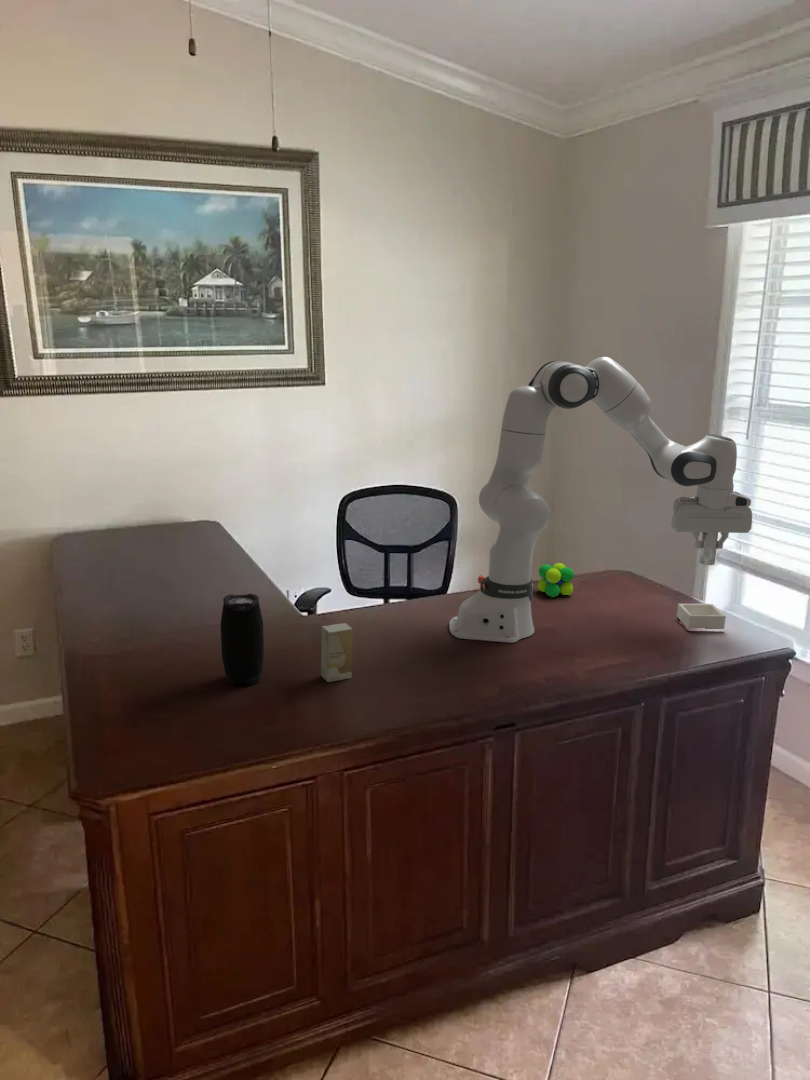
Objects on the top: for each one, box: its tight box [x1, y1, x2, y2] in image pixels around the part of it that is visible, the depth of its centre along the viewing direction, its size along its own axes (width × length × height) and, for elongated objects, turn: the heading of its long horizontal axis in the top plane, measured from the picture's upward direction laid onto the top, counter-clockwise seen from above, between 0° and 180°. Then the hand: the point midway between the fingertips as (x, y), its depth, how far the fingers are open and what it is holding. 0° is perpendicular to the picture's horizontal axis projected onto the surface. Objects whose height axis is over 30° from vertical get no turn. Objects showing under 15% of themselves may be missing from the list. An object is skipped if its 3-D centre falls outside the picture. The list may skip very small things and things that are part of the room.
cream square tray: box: [676, 603, 726, 630], centre depth 233 cm, size 10×10×4 cm
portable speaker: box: [220, 593, 265, 686], centre depth 193 cm, size 9×9×20 cm
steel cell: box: [698, 530, 719, 566], centre depth 228 cm, size 4×4×10 cm
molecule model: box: [537, 562, 575, 598], centre depth 257 cm, size 9×9×9 cm
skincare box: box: [320, 622, 354, 683], centre depth 197 cm, size 6×4×12 cm
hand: (708, 548), depth 228 cm, fingers closed on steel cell, 4 cm apart
